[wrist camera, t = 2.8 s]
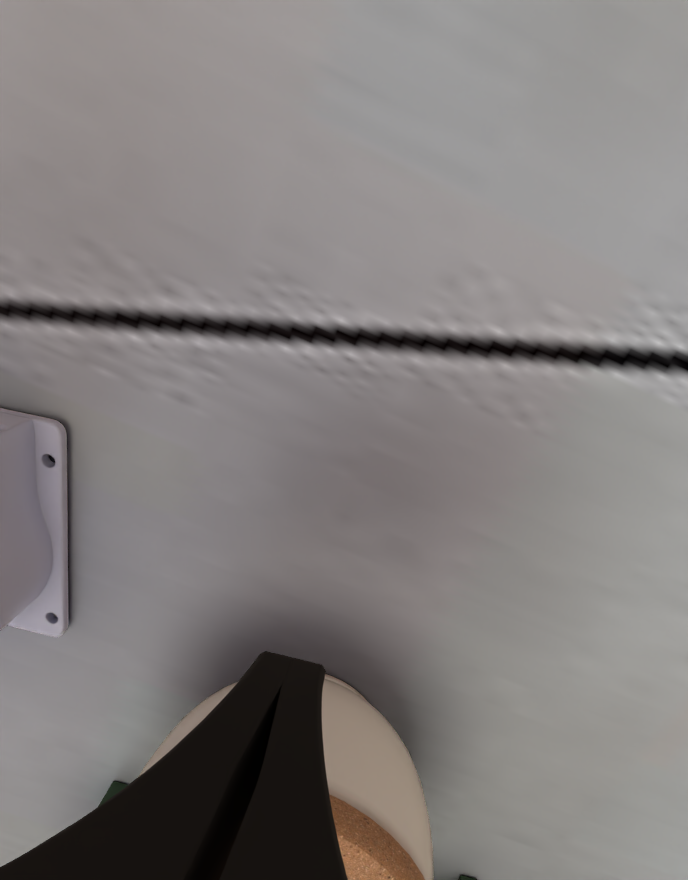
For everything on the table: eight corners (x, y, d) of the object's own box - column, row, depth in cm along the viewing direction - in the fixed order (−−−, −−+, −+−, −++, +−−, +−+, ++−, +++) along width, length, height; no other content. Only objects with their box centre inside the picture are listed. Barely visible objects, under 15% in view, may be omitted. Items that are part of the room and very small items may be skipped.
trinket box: (496, 734, 23) (527, 1037, 15) (331, 859, 27) (279, 1158, 19) (280, 569, 22) (175, 790, 14) (141, 724, 26) (-10, 972, 18)
